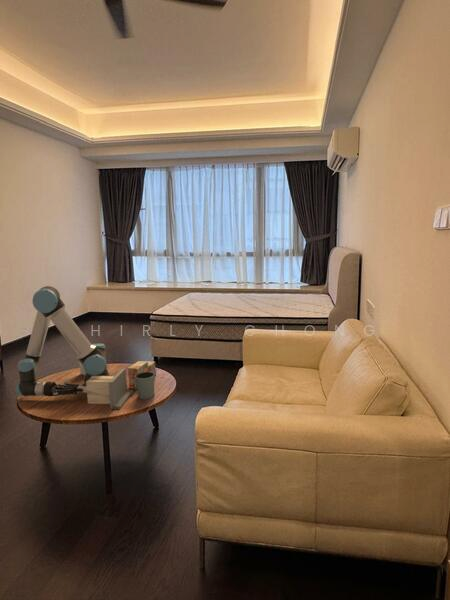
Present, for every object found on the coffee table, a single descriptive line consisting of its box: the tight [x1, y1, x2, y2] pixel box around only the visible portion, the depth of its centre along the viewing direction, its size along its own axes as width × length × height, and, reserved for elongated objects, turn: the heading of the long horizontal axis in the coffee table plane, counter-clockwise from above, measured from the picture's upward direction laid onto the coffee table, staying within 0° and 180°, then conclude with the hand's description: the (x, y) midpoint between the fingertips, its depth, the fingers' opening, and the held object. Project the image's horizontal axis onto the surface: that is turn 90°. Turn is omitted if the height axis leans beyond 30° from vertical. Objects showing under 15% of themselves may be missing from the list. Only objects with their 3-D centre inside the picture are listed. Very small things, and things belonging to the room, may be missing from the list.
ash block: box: [86, 375, 115, 405], centre depth 201 cm, size 8×14×12 cm, turn 86°
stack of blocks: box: [127, 360, 157, 390], centre depth 226 cm, size 21×6×12 cm, turn 163°
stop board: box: [109, 367, 134, 410], centre depth 200 cm, size 20×5×14 cm, turn 176°
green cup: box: [135, 372, 156, 400], centre depth 206 cm, size 10×10×12 cm
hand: (89, 389), depth 202 cm, fingers closed
